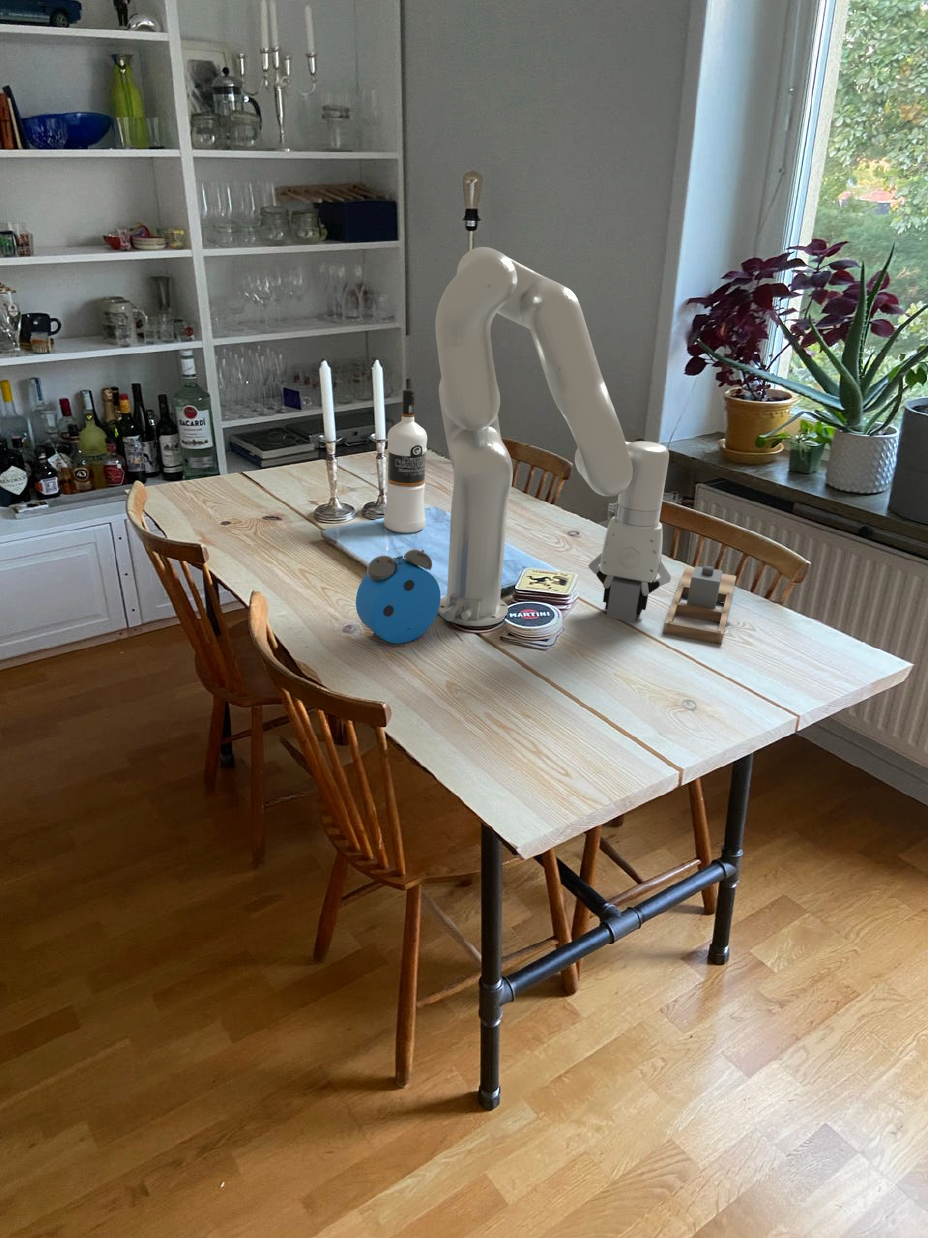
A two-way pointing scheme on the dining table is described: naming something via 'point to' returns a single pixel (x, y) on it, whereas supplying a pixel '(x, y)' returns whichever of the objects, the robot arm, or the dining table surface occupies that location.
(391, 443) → the vodka
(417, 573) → the alarm clock
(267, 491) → the dining table surface
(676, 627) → the wooden crate frame
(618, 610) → the plug
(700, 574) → the grey knobbed block
